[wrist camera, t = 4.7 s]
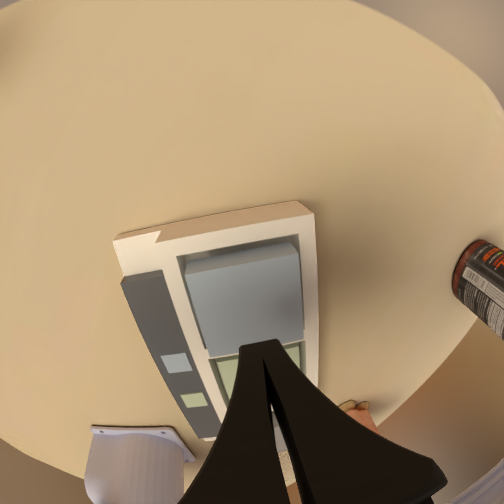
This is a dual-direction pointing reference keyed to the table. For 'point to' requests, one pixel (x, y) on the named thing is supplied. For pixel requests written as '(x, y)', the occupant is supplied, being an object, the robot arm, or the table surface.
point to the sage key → (231, 362)
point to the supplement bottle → (482, 283)
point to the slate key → (247, 297)
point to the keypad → (181, 307)
